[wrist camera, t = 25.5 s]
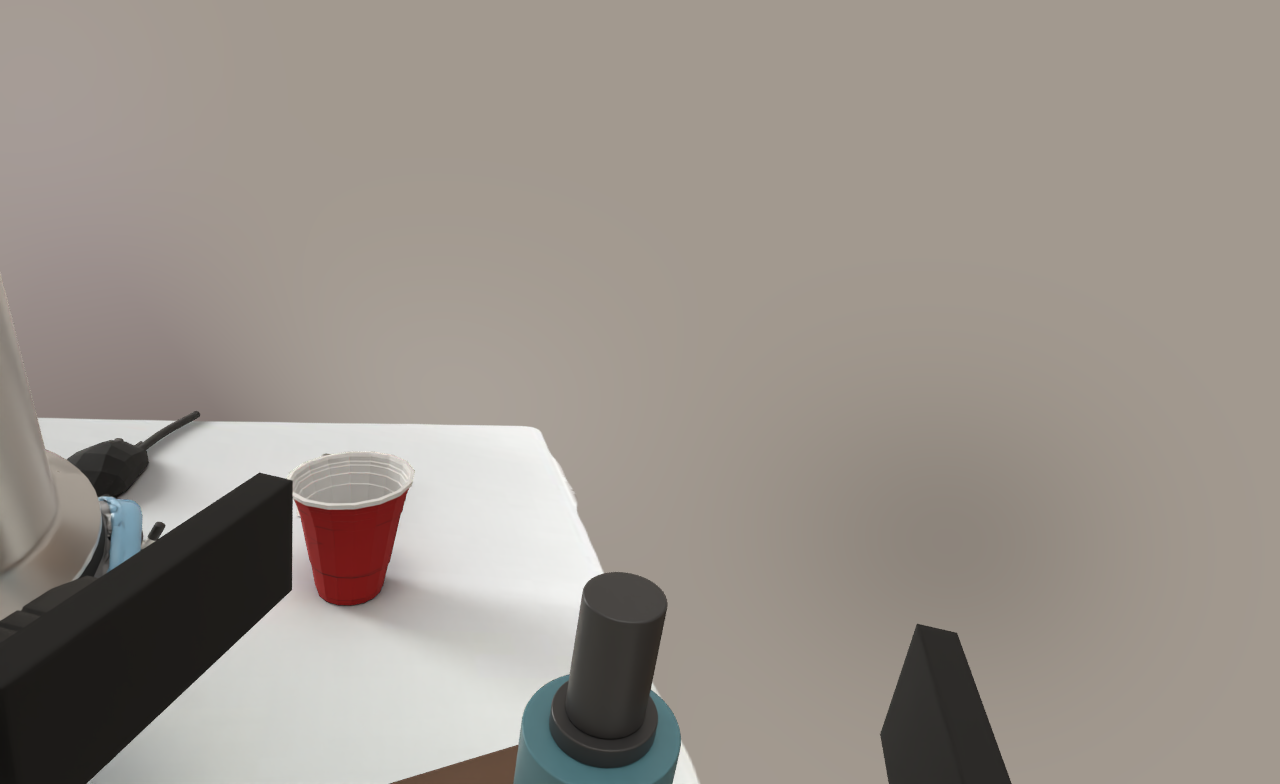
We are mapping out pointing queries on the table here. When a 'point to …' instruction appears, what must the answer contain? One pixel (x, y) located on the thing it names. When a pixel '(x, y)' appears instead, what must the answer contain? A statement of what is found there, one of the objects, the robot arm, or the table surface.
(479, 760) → the coffee table
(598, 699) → the capped bottle
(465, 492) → the table surface
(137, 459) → the gaming mouse
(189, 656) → the robot arm
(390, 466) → the plastic cup
